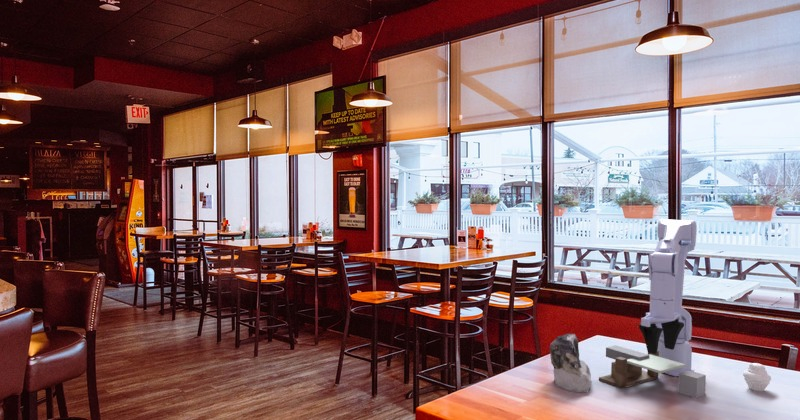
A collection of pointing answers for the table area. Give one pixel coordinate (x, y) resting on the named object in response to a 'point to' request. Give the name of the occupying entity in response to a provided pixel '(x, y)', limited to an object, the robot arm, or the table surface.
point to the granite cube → (692, 383)
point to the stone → (569, 364)
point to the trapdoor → (643, 359)
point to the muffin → (756, 377)
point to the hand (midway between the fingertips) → (660, 350)
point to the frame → (628, 373)
